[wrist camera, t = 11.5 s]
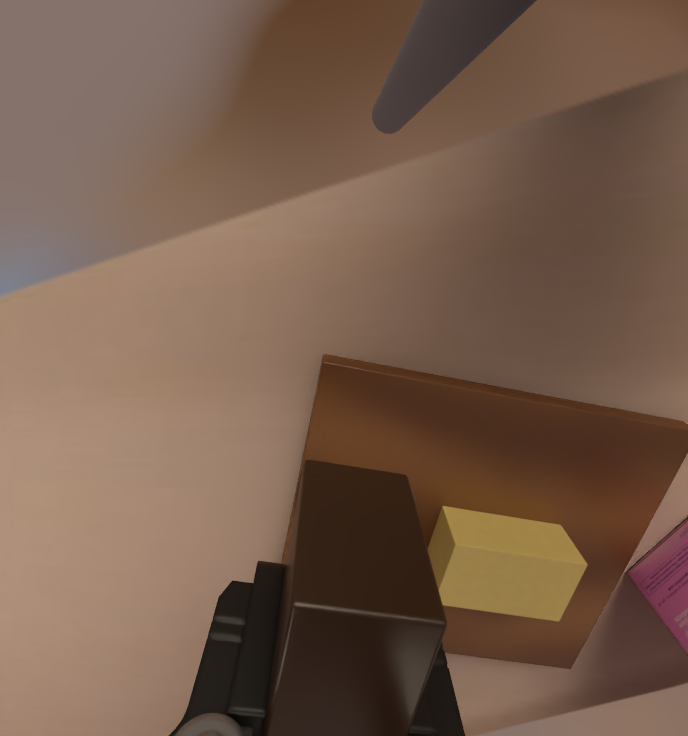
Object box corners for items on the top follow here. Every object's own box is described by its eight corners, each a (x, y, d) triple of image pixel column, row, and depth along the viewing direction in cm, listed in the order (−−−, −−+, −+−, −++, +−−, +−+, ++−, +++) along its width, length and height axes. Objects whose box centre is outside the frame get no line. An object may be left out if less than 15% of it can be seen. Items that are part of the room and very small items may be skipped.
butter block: (442, 505, 25) (455, 544, 23) (560, 524, 26) (588, 564, 23) (423, 561, 27) (433, 604, 24) (536, 578, 27) (559, 622, 25)
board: (323, 353, 23) (323, 361, 22) (683, 421, 25) (699, 431, 24) (271, 613, 30) (268, 629, 28) (562, 652, 31) (571, 669, 30)
